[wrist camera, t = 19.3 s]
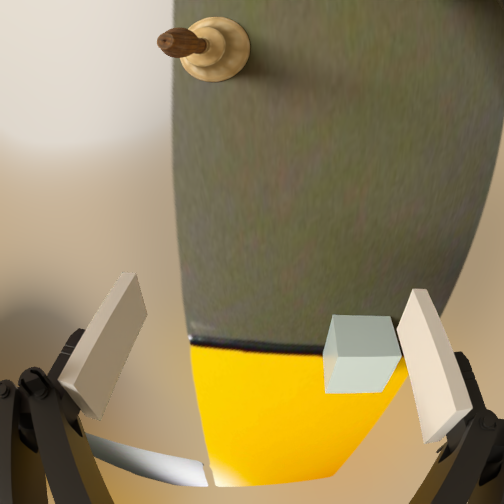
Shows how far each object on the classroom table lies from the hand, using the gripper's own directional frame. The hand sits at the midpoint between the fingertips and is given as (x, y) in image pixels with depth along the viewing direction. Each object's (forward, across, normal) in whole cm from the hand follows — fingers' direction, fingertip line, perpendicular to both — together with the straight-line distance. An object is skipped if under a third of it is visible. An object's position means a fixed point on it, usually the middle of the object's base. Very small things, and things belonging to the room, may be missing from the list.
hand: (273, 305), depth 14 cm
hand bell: (+27, -8, +13) cm, 31 cm away
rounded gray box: (+26, +15, -31) cm, 43 cm away
